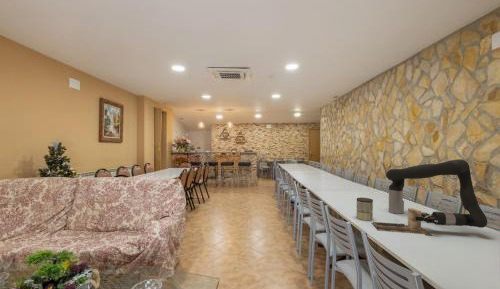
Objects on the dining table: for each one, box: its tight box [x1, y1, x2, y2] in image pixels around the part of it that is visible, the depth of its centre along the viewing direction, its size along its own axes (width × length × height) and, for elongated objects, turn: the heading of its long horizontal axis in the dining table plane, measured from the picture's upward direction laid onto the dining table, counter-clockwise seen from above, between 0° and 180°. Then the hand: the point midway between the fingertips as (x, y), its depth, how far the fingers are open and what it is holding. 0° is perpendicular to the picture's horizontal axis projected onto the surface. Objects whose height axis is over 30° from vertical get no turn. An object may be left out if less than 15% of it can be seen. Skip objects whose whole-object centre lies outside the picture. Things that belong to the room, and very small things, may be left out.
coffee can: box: [356, 197, 374, 222], centre depth 169 cm, size 10×10×14 cm
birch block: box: [407, 207, 422, 231], centre depth 148 cm, size 5×5×12 cm
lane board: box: [371, 221, 433, 237], centre depth 150 cm, size 28×15×2 cm, turn 78°
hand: (412, 216), depth 148 cm, fingers open, 8 cm apart
